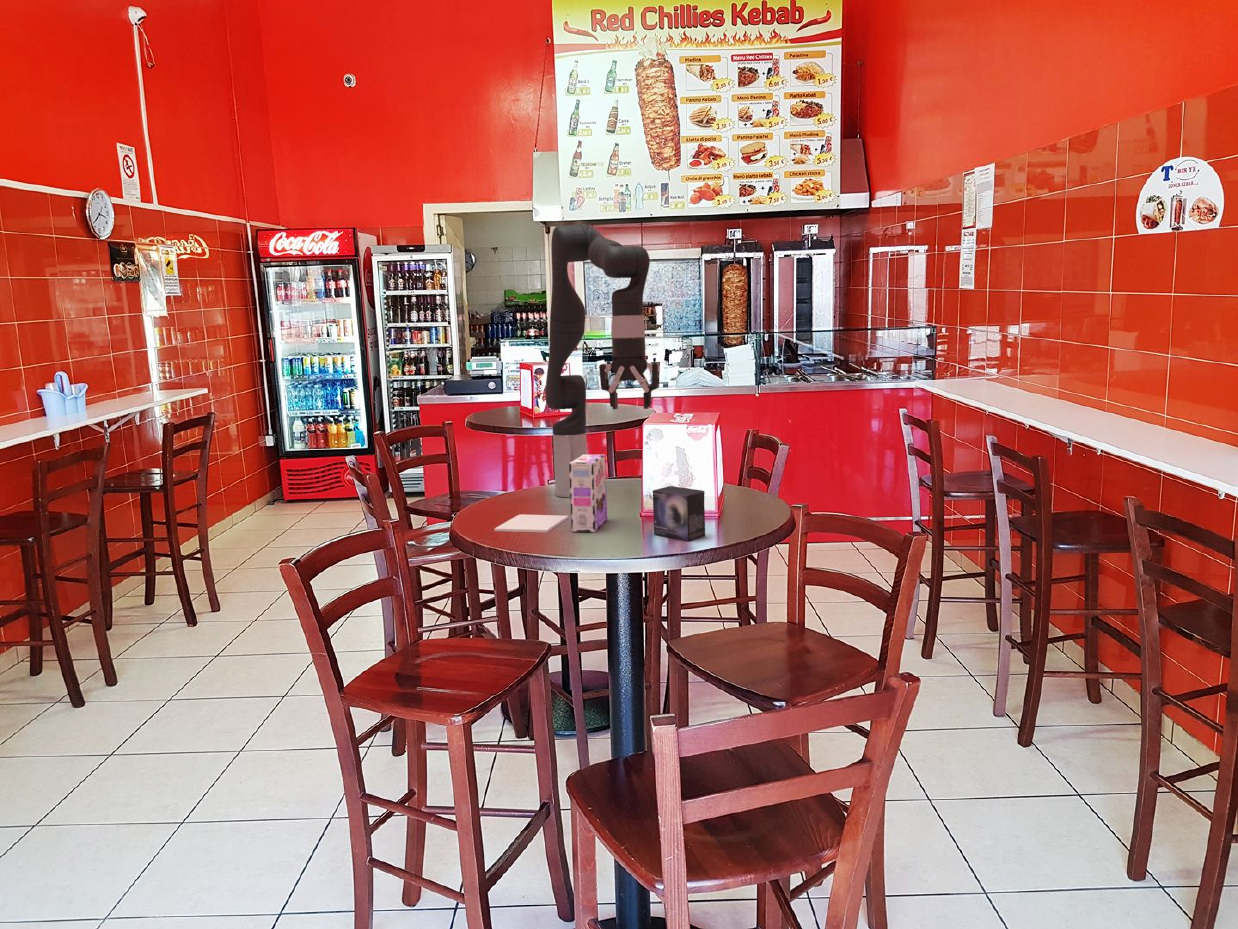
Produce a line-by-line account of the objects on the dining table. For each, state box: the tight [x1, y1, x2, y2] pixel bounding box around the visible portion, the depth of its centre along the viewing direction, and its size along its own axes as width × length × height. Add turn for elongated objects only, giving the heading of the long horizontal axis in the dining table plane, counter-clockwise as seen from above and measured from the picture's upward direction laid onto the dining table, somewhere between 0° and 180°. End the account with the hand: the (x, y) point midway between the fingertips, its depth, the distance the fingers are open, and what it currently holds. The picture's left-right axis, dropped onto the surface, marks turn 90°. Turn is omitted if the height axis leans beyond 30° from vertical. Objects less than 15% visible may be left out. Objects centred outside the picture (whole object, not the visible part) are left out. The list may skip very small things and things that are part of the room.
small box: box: [652, 485, 706, 542], centre depth 214 cm, size 11×6×10 cm, turn 45°
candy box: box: [569, 453, 608, 533], centre depth 226 cm, size 14×6×16 cm, turn 168°
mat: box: [494, 514, 570, 534], centre depth 231 cm, size 16×13×1 cm
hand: (630, 408), depth 220 cm, fingers open, 7 cm apart
